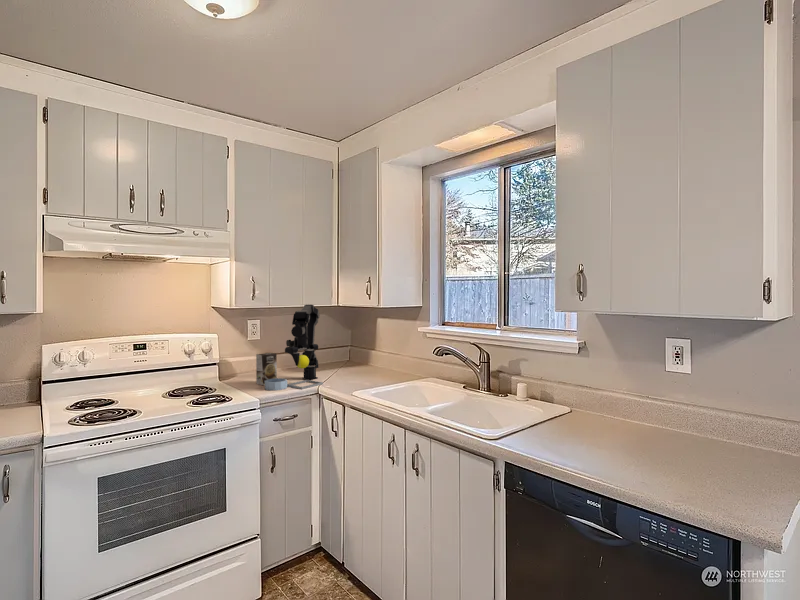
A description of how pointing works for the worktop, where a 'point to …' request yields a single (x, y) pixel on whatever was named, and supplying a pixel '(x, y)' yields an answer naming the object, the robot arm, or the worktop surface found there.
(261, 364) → the coffee box
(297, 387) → the grey square frame
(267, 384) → the bowl
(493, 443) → the worktop surface
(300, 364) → the tennis ball
